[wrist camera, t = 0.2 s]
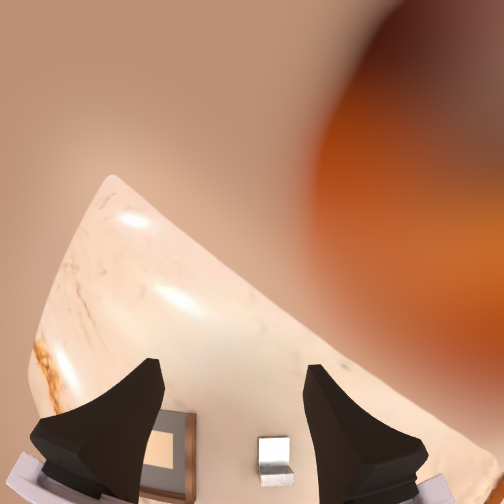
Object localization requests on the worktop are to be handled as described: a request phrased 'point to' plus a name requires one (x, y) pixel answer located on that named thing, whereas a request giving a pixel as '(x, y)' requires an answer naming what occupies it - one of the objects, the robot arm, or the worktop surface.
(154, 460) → the corner mat
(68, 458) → the robot arm
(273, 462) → the angle bracket
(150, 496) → the corner walls
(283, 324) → the worktop surface
